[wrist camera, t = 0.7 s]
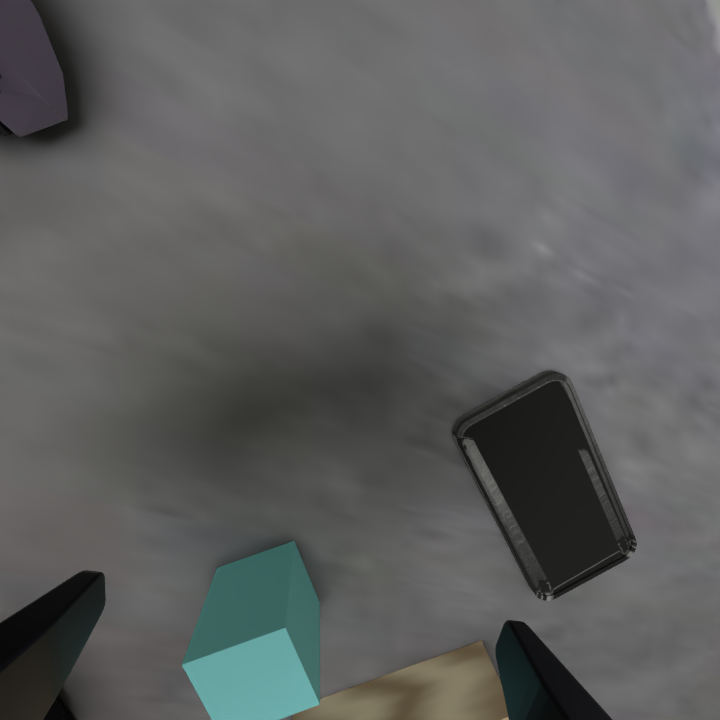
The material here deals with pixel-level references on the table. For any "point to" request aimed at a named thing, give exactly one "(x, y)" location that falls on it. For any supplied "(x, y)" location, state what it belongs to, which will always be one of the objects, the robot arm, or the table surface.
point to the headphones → (28, 72)
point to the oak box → (423, 692)
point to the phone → (546, 484)
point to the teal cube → (258, 639)
